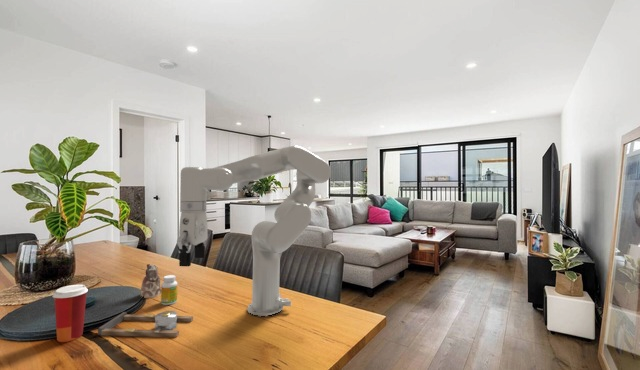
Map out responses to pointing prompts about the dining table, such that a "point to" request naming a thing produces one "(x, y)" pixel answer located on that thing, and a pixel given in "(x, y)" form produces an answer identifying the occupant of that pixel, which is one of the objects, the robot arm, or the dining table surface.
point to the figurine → (151, 283)
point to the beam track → (136, 332)
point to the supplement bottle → (169, 290)
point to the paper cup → (70, 312)
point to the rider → (166, 320)
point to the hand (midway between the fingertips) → (192, 261)
